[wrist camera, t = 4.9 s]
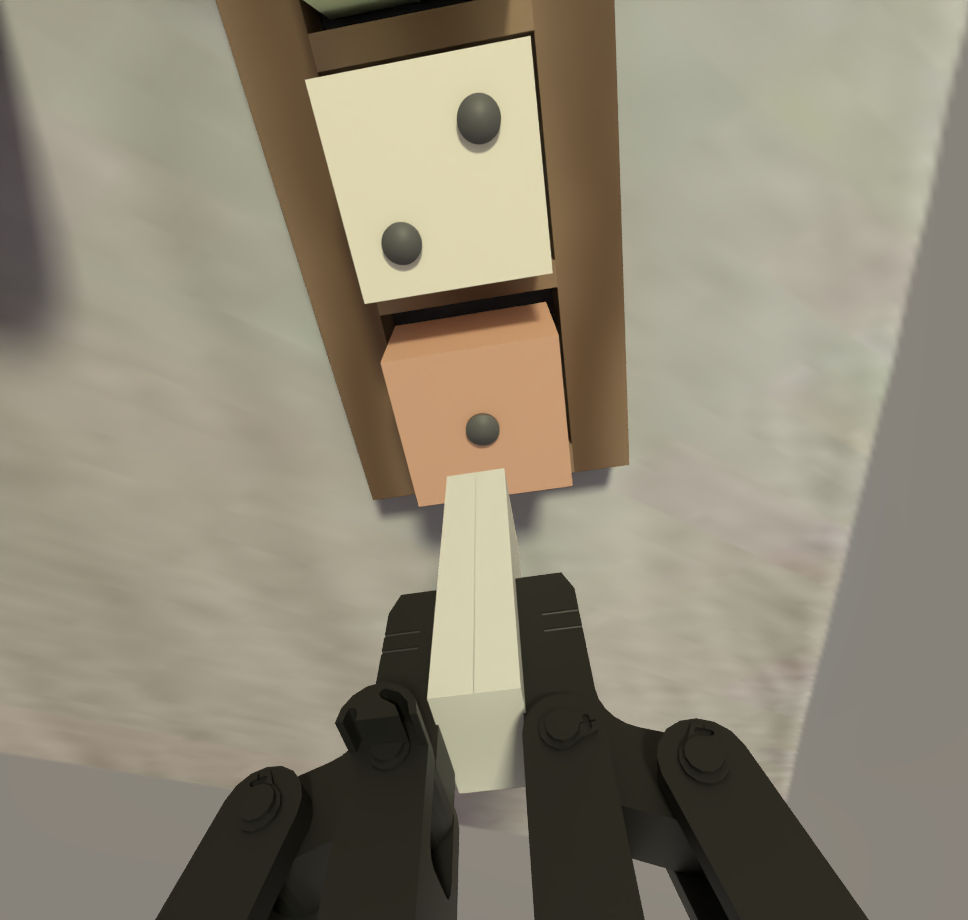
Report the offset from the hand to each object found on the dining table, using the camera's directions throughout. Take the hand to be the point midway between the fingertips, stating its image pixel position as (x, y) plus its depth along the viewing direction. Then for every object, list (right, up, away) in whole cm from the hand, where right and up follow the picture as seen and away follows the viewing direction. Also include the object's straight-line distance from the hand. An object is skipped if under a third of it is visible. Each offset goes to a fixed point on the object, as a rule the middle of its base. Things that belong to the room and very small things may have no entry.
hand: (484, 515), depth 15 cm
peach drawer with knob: (0, +5, +9) cm, 10 cm away
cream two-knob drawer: (-1, +11, +5) cm, 12 cm away
